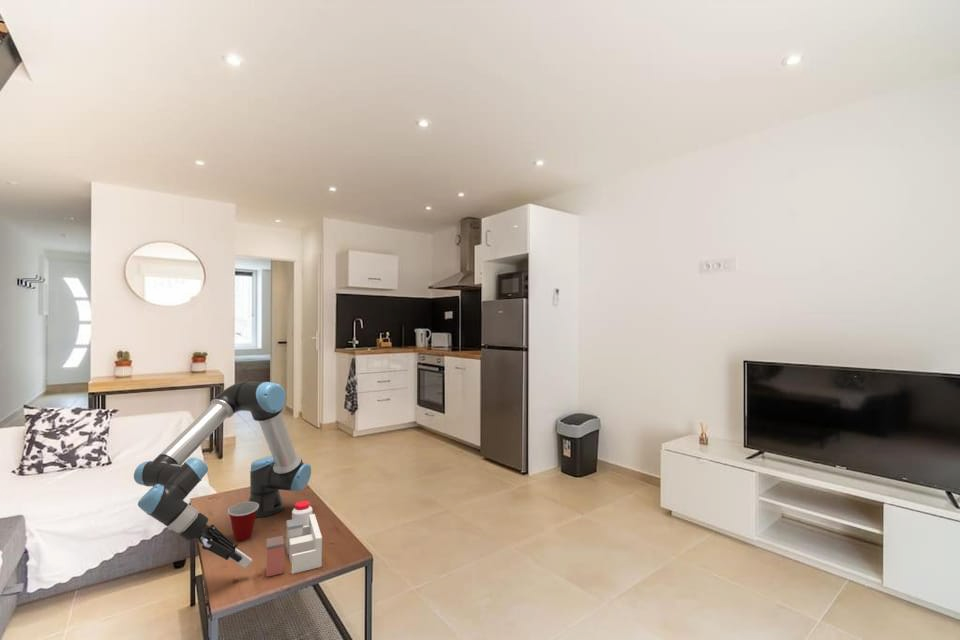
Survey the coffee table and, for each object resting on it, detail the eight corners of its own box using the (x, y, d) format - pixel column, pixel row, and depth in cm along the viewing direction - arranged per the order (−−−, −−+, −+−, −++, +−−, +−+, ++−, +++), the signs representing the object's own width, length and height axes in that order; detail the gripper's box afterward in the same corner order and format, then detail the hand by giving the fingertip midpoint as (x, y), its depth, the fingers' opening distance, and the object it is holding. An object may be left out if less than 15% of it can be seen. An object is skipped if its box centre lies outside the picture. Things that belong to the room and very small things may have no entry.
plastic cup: (226, 547, 161) (226, 515, 161) (227, 534, 170) (228, 504, 170) (258, 541, 166) (259, 509, 166) (258, 529, 175) (259, 499, 175)
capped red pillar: (265, 567, 147) (266, 538, 147) (282, 563, 149) (282, 535, 150) (266, 577, 142) (266, 547, 142) (283, 573, 144) (284, 543, 144)
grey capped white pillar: (286, 546, 161) (286, 520, 161) (301, 543, 163) (301, 517, 163) (287, 554, 155) (287, 527, 156) (302, 551, 158) (303, 524, 158)
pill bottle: (304, 536, 170) (305, 508, 170) (287, 534, 171) (287, 506, 171) (316, 527, 177) (316, 500, 177) (299, 525, 179) (299, 498, 179)
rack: (287, 545, 162) (287, 518, 163) (314, 539, 167) (314, 513, 167) (291, 573, 144) (292, 543, 144) (321, 566, 148) (322, 537, 148)
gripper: (181, 524, 139) (239, 564, 146) (174, 542, 127) (238, 584, 135) (201, 505, 141) (257, 544, 149) (196, 520, 130) (257, 563, 137)
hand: (248, 563), depth 142 cm, fingers closed
